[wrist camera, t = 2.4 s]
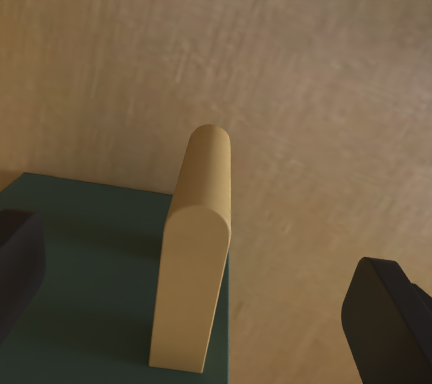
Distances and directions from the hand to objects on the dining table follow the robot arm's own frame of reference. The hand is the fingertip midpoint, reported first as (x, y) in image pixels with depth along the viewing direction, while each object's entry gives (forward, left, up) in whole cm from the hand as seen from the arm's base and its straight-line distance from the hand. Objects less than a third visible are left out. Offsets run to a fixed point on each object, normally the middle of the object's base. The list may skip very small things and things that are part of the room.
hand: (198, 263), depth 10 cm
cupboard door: (+3, -5, -15) cm, 16 cm away
